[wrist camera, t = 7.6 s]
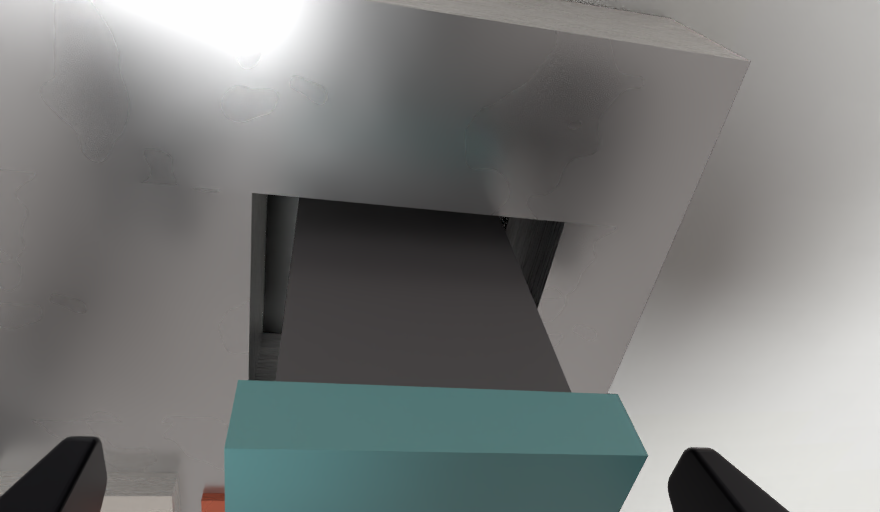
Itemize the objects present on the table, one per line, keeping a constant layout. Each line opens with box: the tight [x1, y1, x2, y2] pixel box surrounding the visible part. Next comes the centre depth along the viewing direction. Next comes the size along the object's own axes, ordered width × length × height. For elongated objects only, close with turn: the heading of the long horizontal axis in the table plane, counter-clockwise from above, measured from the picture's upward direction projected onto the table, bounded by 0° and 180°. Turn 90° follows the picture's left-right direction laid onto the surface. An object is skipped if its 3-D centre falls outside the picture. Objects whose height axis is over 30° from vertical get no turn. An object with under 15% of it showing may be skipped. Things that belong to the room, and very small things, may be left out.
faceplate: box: [0, 0, 751, 512], centre depth 13 cm, size 14×14×4 cm
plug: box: [224, 197, 648, 512], centre depth 12 cm, size 5×5×8 cm
